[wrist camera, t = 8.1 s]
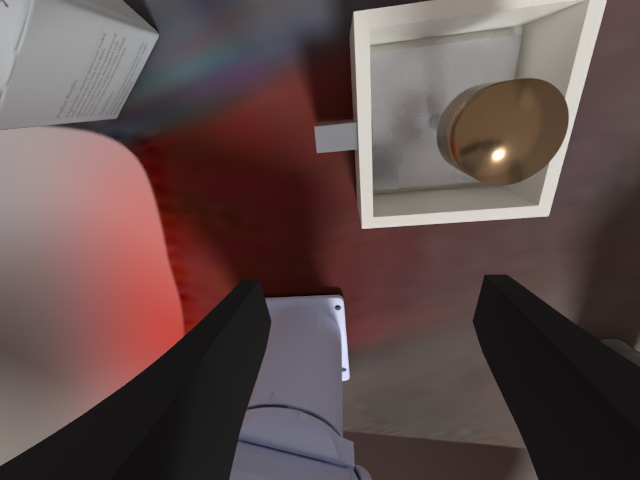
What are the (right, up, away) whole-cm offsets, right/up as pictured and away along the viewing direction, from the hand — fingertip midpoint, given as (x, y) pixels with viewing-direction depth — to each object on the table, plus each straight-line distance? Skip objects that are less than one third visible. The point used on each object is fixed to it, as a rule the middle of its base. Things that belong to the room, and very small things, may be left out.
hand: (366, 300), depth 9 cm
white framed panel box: (+5, +9, +7) cm, 12 cm away
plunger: (+5, +9, +7) cm, 12 cm away
